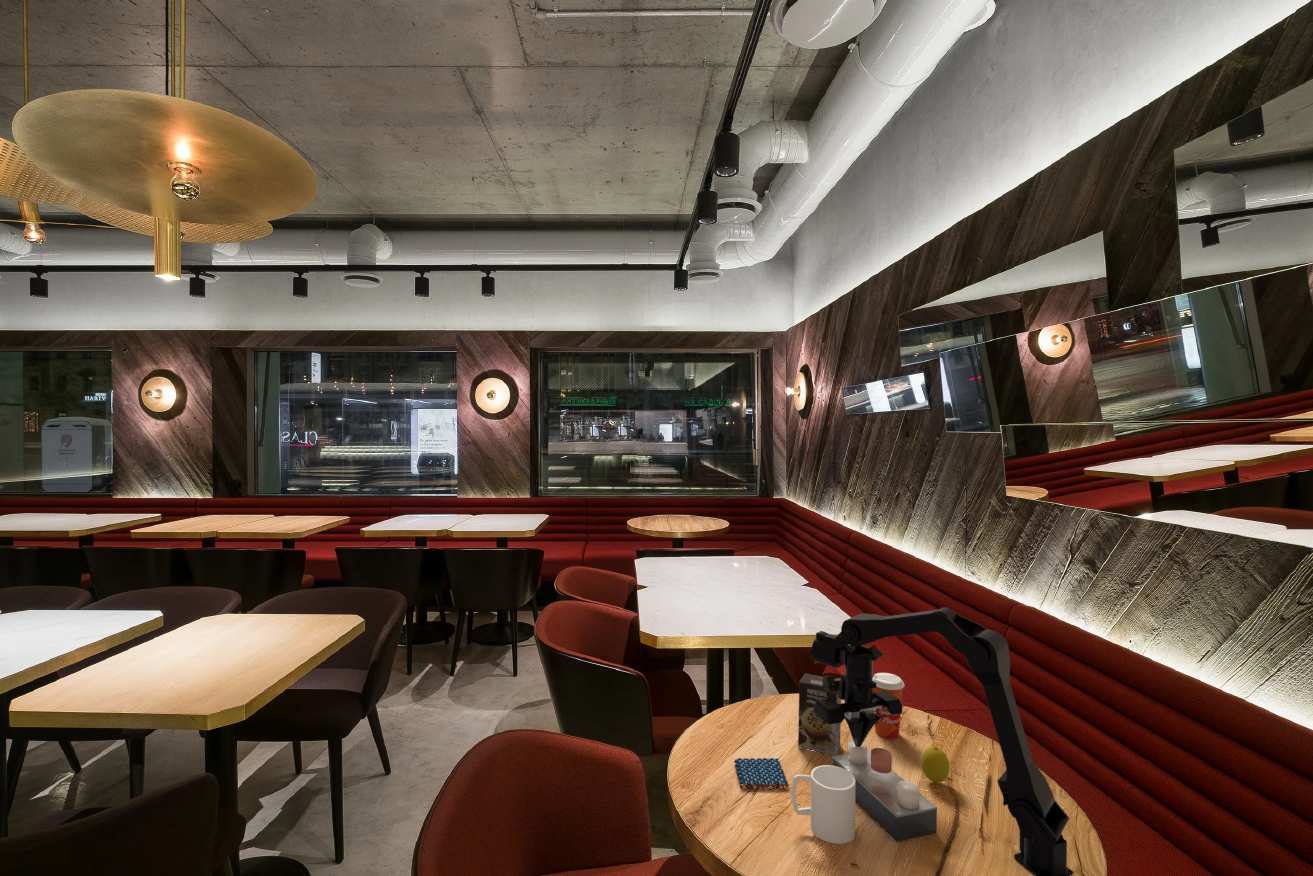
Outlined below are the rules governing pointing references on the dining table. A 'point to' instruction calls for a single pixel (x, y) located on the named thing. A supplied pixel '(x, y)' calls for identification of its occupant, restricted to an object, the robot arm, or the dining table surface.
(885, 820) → the console
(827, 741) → the coffee box
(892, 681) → the paper cup
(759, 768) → the woven mat
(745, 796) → the dining table surface
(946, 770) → the lemon
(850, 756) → the knob far
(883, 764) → the knob middle
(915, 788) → the knob near
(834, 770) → the cup
